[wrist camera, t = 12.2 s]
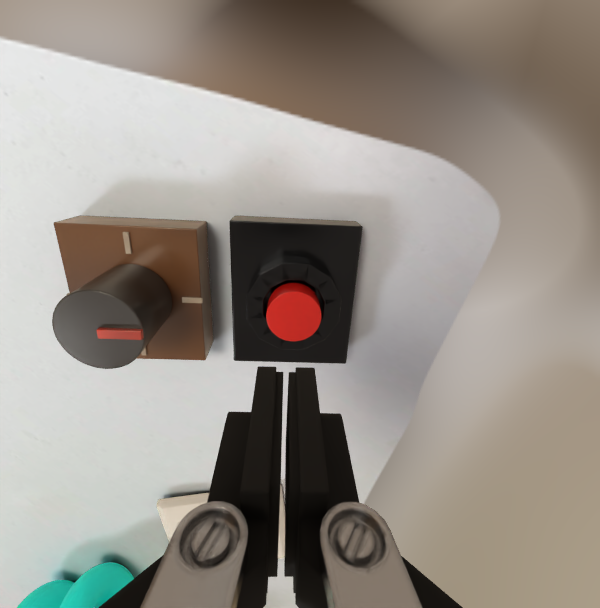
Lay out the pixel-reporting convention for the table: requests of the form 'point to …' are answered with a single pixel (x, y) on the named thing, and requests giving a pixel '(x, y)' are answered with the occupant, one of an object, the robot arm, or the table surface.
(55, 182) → the table surface
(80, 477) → the table surface
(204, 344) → the dimmer panel
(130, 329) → the dimmer knob
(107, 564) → the donuts
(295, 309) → the power button
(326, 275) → the switch block
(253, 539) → the robot arm
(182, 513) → the light switch
